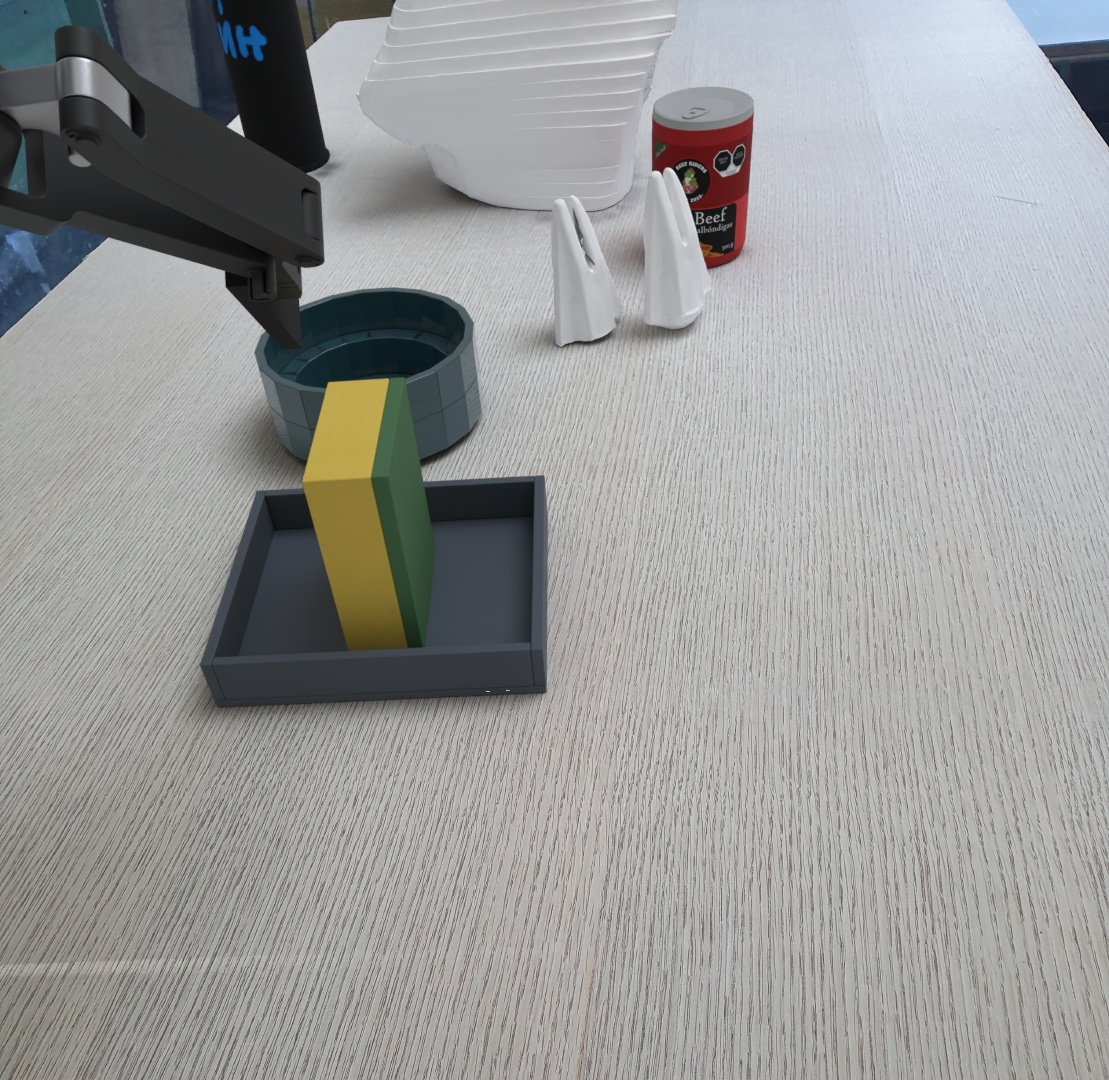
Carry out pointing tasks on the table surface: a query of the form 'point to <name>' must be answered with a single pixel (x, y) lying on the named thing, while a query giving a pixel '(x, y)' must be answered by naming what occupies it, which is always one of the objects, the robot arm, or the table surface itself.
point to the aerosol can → (272, 78)
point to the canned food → (708, 161)
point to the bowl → (377, 362)
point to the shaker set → (669, 266)
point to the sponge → (372, 513)
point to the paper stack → (520, 93)
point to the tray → (454, 613)
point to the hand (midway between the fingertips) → (122, 325)
